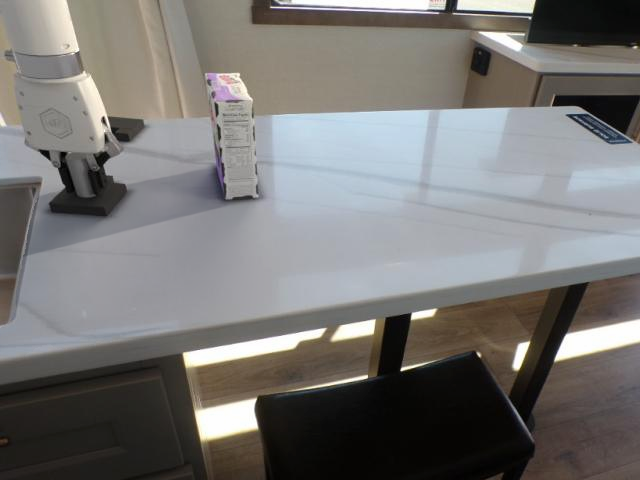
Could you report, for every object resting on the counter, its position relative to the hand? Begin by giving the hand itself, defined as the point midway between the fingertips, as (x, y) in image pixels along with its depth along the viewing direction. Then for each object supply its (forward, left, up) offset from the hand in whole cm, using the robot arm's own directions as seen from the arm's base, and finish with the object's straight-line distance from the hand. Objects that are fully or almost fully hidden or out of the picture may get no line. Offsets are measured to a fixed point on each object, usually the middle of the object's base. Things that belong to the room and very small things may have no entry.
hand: (87, 189), depth 80 cm
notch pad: (-7, +28, -2) cm, 29 cm away
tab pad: (0, +1, -2) cm, 2 cm away
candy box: (+20, +11, -2) cm, 23 cm away
